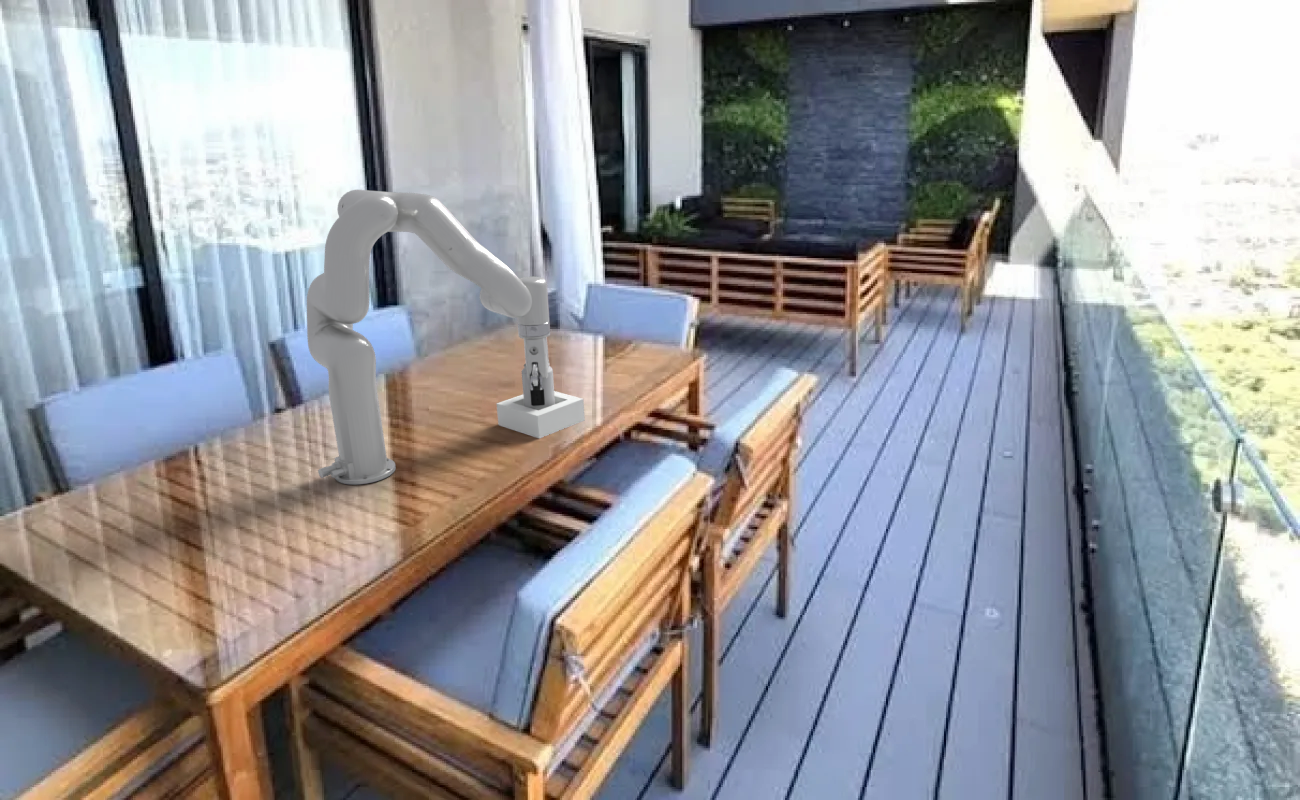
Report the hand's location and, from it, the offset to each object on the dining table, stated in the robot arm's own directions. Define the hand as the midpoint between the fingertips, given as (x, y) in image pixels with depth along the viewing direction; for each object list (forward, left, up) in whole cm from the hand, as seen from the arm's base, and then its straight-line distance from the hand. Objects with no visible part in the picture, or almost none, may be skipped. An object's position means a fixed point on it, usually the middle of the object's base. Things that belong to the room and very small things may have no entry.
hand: (539, 399), depth 205 cm
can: (0, 0, -3) cm, 3 cm away
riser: (0, 0, -7) cm, 7 cm away
